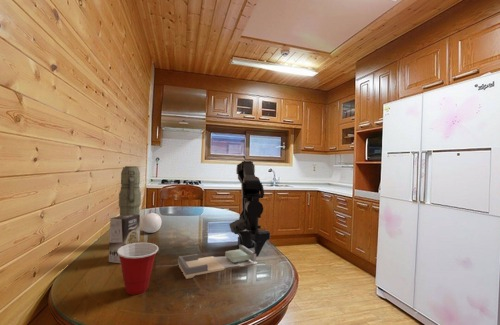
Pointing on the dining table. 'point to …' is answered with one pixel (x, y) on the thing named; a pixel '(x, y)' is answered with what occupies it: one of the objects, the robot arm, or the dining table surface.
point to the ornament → (151, 222)
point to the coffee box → (122, 234)
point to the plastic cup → (137, 266)
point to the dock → (206, 264)
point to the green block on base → (241, 254)
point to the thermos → (130, 191)
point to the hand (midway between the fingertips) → (250, 252)
